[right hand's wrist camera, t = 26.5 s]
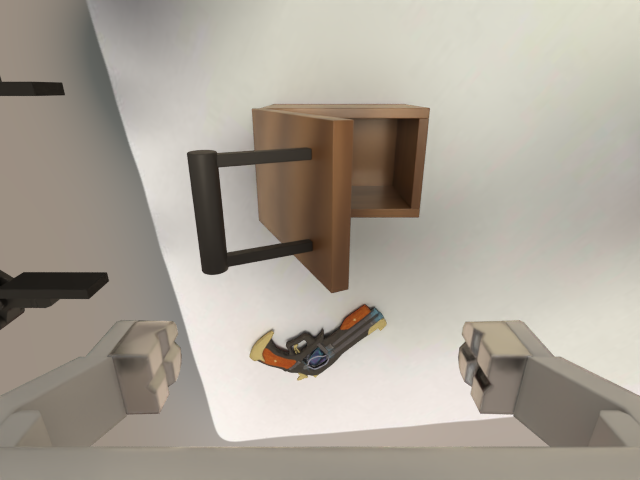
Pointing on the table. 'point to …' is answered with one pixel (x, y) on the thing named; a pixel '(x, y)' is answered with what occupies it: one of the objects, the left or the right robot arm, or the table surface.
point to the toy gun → (318, 345)
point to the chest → (381, 154)
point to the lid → (284, 194)
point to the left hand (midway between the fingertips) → (77, 196)
